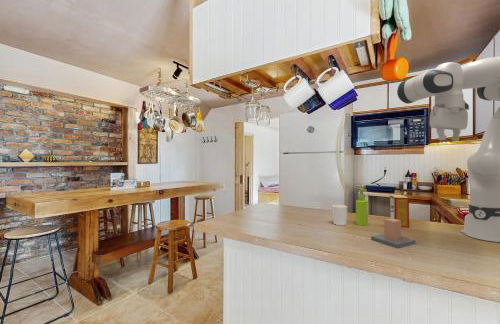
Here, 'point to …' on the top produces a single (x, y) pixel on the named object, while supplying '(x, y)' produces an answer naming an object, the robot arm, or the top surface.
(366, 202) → the soap dispenser
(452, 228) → the top surface
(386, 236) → the terracotta block
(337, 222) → the white cup
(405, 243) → the slate coaster
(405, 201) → the baking soda box
